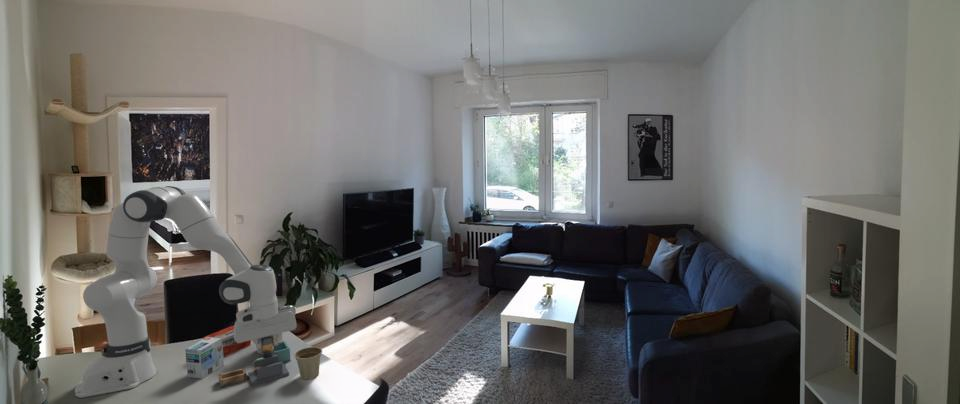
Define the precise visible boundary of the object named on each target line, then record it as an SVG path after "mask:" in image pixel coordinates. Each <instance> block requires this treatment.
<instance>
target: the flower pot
mask: <svg viewBox="0 0 960 404" xmlns="http://www.w3.org/2000/svg"><path fill="white" fill-rule="evenodd" d="M322 353H323V349H322V348H321V347H318V346H310V347H305V348H301V349H299V350H297V351H296V352H295V353H294V354H293V356H294V358H295V360H296V363H297V365H298V371H299V376H300V378H301V379H305V380H310V379H314V378H316V377H317V376H319V374H320V364H321V358H322V357H321V356H322Z"/></svg>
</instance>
